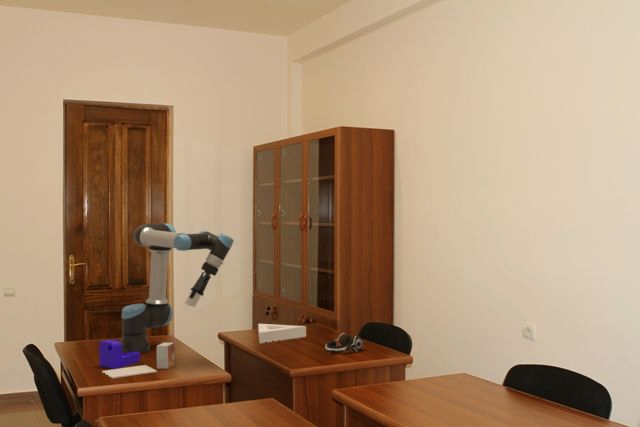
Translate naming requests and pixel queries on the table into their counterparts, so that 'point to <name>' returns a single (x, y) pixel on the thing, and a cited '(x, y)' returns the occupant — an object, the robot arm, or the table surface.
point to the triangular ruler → (279, 332)
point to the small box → (165, 355)
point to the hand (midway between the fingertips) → (189, 305)
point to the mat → (129, 371)
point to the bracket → (115, 355)
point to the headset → (345, 344)
